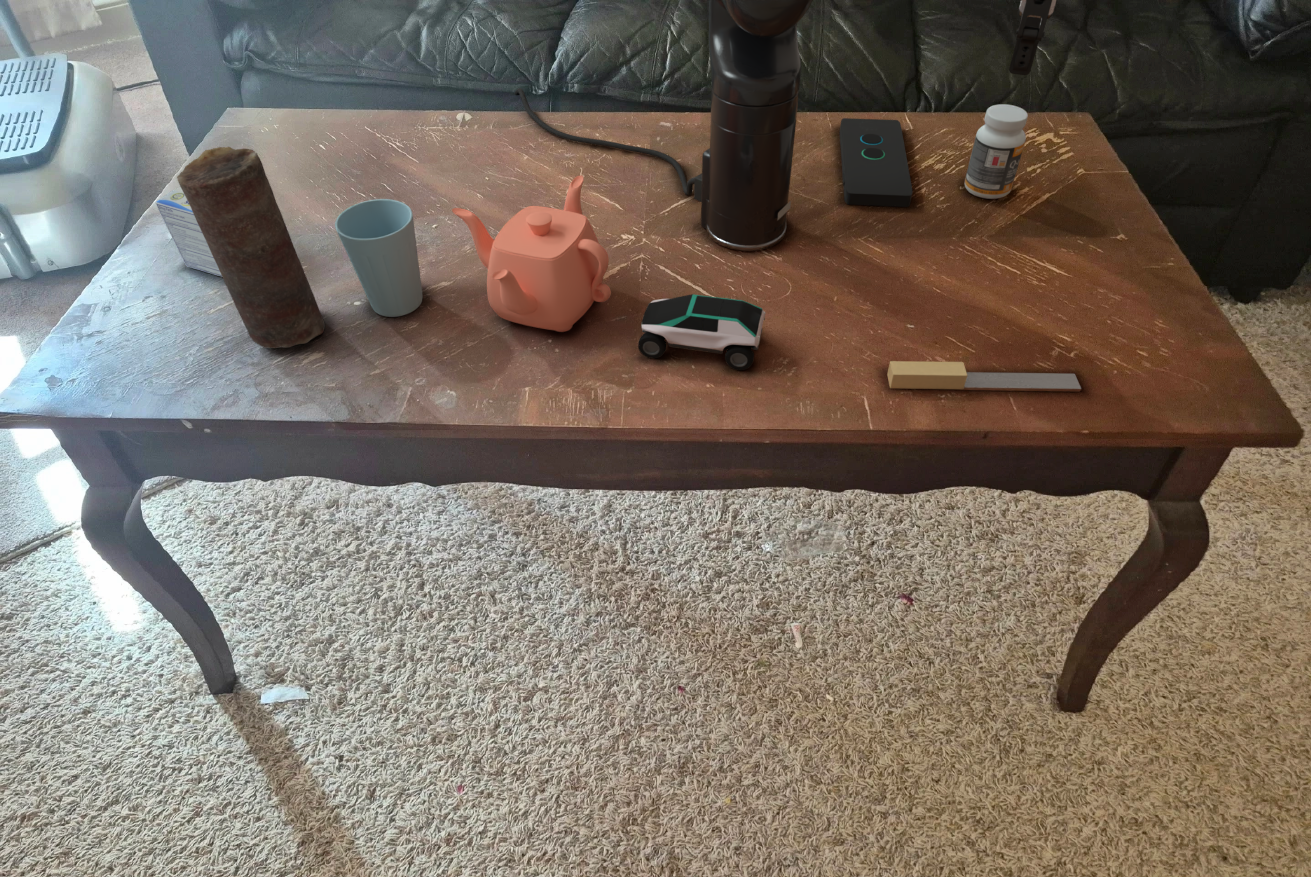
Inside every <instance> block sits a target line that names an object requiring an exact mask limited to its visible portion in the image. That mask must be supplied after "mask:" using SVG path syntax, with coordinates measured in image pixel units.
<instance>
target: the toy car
mask: <svg viewBox="0 0 1311 877" xmlns="http://www.w3.org/2000/svg"><path fill="white" fill-rule="evenodd" d="M765 320H766V311H765V310H764V309H763V308H762V307H760V306H758V305H755V304H753V303H750V302H748V301H745V300H743V299H735V298H727V297H718V296H709V295H703V294H702V295H700V294H695V293H694V294H693V293H692V294H691V293H690V294H686V295H682V296H676V297H672V298H661V299H653V300H652V301H651V302H649V303H648V304H647V306H646V308H645V310H644V313H643V316H642V320H641V330H642V331H641V332H642V333H643V334H641V335H640V337H639V339H638V342H637V348H638V350H639V352H640V353H641V355H643V356H644V357H646V358H648V359H659V358H661V357H662V356H664V354H665V352H666V350H667V346H668V347H669V348H677V349H683V350H690V351H698V352H704V353H705V352H706V353H713V354H719V355H724V360H725V363H726V364H727V366H728V367H730V369H733V370H735V371H746V370H748V369H749V368H751V367H752V365H753V363H754V361H755V353H754V351H758V350H759V346H760V342H761V337H762V333H763V325H764V321H765ZM724 352H725V354H724Z"/></svg>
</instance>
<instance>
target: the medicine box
mask: <svg viewBox="0 0 1311 877" xmlns="http://www.w3.org/2000/svg"><path fill="white" fill-rule="evenodd" d="M155 206H156V208H157V210H158V212H159V214H160V217H161V218H162V220H163V222H164V225H165V226H166V228H167V230H168V233H169V234H170V236H171V238H172V241H173V242H174V245H175V247H176V249H177V251H178V253H179V256H180V257H181V259H182V261H183V263H184V265H185V266H186V267H188V268H190V269H194V270H198V271H201V272H204V273H208V274H211V275H215V276H218V277H220V278H223V277H222V275H221V273H220V271H219V268H218V266H217V264H216V262H215V260H214V258H213V255H212V253H211V251H210V249H209V246H208V244H207V242H206V240H205V238H204V236H203V233H202V231H201V229H200V227H199V225H198V223H197V221H196V218H195V216H194V214H193V211H192V209H191V207H190V205H189V202H188V200H187V199H186V197H185V195H184V193H183V191H182V189H181V187H180V185H179V186H178V187H176V188H174V189H172V190H171V191H169V192H167V193H166V194H164V195H163V196H162V197H160V198H159V199H158V200H157V201H155Z"/></svg>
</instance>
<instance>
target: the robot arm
mask: <svg viewBox="0 0 1311 877" xmlns="http://www.w3.org/2000/svg"><path fill="white" fill-rule="evenodd" d="M813 1H814V0H708V51H709V61H710V70H711V80H710V81H711V83H710V84H711V85H710V86H711V88H710V90H711V91H710V126H709V127H710V131H709V147H708V148H707V149H706V150H704V151H703V153H702V156H701V157H702V158H701V159H702V160H701V173H699V174H698V175H696V176H695V177H691V178H689V179H688V180H687V178H686V174H685V172H684V170H683V168H682V166H681V165H680V163H679V162H678V161H677V160H676V159H675V158H673V156H670V155H669V154H667V153H664V152H661V151H658V150H655V149H651V148H647V147H641V146H635V145H629V144H624V143H619V142H614V141H609V140H603V139H597V138H590V137H584V136H577V135H573V134H569V133H566V132H563V131H560V130H558V129H556V128H553V127H551V126H550V125H549V124H547V123H546V122H544V121H543V120H542V119H541V118H539V116H538V115H537V114H536V113H535V112H534V111H533V110H532V109H531V107H530V104H529V102H528V100H527V97H526V96H527V95H526V94H525V92H524V90H523V89H522V88H520V87H519V88H517V89H516V90H515V91H514V95H515V96H519V97H520V100H521V103H522V105H523V108H524V110H525V112H526V114H527V115H528V116H529V117H530V118H531V119H532V120H533V121H534V123H536V124H537V125H538V126H539V127H540V128H542V130H545V131H546V132H548V133H550V134H551V135H553V136H556V137H559V138H561V139H563V140H568V141H571V142H576V143H581V144H588V145H595V146H602V147H606V148H612V149H617V150H622V151H626V152H632V153H639V154H643V155H647V156H654V157H656V158H658V159H661V160H664V161H665V162H667V163H669V164H670V165H672V166H673V167H674V169H675V170H676V172H677V174H678V177H679V180H680V182H681V186H682V190H683V193H684V195H686V196H691V195H692V194H693V199H694V200H695V201H698V202H699V203H700V204H701V206H700V227H702V228H704V229H705V230H706V232H707V235H708V237H709V238H710V239H711V240H712V241H714V242H715V243H717V244H718V245H720V246H721V247H724V248H727V249H730V250H736V251H746V252H751V251H752V252H753V251H761V250H765V249H768V248H771V247H774V246H775V245H777V244H779V243H780V242H781V241H782V240H783V239H784V237H785V236H786V233H787V215H788V211H789V210H790V209H791V205H792V204H791V203H792V201H791V200H790V201H789V196H790V186H791V177H792V166H793V158H794V156H793V155H794V148H795V137H796V126H797V117H798V116H797V115H798V106H799V96H800V87H801V75H802V62H801V56H800V50H799V41H798V40H799V38H798V23H799V22H800V21H801V19H802V18H803V17H804V16H805V14H806V13H807V12H808V11H809V9H810V7H811V5H812V4H813ZM1056 3H1057V0H1020V3H1019V7H1018V12H1017V14H1018V16H1019V17H1020V18H1021V19H1020V22H1019V26H1018V28H1017V29H1016V33H1015V35H1016V42H1015V45H1014V49H1013V53H1012V57H1011V60H1010V63H1009V67H1008V72H1009V73H1010V74H1012V75H1018V76H1027V75H1030V73H1031V70H1032V67H1033V64H1034V60H1035V57H1036V53H1037V49H1038V46H1039V43H1040V42H1041V41H1042V39H1044V37H1045V29H1046V24H1047V21H1048V20H1049V19H1051V18H1052V16H1053V14H1054V12H1055V7H1056V5H1057V4H1056ZM693 186H694V187H693ZM693 192H694V193H693Z"/></svg>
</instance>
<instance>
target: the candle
mask: <svg viewBox="0 0 1311 877" xmlns="http://www.w3.org/2000/svg"><path fill="white" fill-rule="evenodd" d="M176 179H177V180H176V181H177V183H178V184H179V186H180V187H181V189H182V191H183V193H184V195H185V197H186V199H187V200H188V202H189V205H190V207H191V209H192V211H193V214H194V216H195V218H196V221H197V223H198V225H199V227H200V229H201V231H202V233H203V236H204V238H205V240H206V242H207V244H208V246H209V249H210V251H211V253H212V255H213V258H214V260H215V262H216V264H217V266H218V268H219V271H220V273H221V275H222V277H221V278H222V279H223V282H224V284H225V287H226V288H227V290H228V293H229V295H230V297H231V299H232V301H233V303H234V306H235V308H236V309H237V312H238V314H239V316H240V318H241V321H242V323H243V325H244V327H245V329H246V331H247V334H248V337H250V339H251V340H252V341H253V342H254V343H255V344H257V345H258V346H261V347H263V348H265V349H267V348H268V349H278V348H291V347H293V346H297V345H302V344H307V343H309V342H310V341H311V340H314V339H315V338H316V337H318V336H321V335H322V334H323V333H324V331H325V327H326V326H325V321H324V318H323V316H322V313H321V311H320V308H319V305H318V303H317V300H316V298H315V294H314V292H313V289H312V288H311V285H310V282H309V280H308V278H307V275H306V273H305V270H304V267H303V265H302V263H301V260H300V258H299V255H298V253H297V251H296V249H295V248H296V247H295V246H294V244H293V240H292V238H291V235H290V232H289V230H288V227H287V225H286V222H285V220H284V217H283V215H282V212H281V210H280V207H279V205H278V202H277V200H276V197H275V194H274V191H273V188H272V186H271V184H270V181H269V179H268V176H267V174H266V171H265V168H264V165H263V163H262V160H261V158H260V157H259V155H258V153H257V152H256V151H255V150H254V149H251V148H235V149H234V148H233V147H231V146H223V147H222V146H218V147H214V148H210V149H205V150H204V151H202V152H201V154H200V155H199V156H198V157H197V158H195V159H193V160H192V161H191V162H189V163H188V164H187V165H185V166H184V169H183V170H182V171H180V173H179V174H178V175H176Z"/></svg>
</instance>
